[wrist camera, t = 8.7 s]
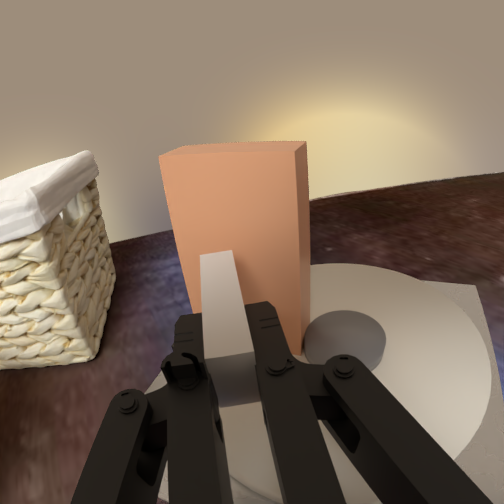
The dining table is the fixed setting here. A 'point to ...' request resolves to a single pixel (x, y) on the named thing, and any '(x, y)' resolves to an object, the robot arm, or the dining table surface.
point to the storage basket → (53, 265)
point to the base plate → (478, 449)
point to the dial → (320, 303)
